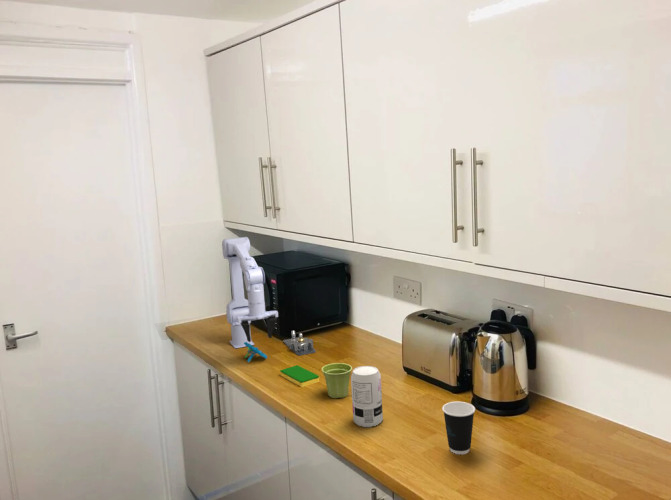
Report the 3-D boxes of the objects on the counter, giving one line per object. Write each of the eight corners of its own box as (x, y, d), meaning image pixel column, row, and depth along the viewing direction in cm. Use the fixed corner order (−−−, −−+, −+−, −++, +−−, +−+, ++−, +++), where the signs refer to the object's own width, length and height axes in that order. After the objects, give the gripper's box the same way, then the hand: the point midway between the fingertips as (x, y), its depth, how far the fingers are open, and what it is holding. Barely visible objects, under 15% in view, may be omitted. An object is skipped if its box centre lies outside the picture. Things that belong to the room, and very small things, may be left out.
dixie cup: (479, 445, 148) (479, 404, 146) (470, 460, 142) (470, 417, 140) (449, 439, 152) (447, 399, 150) (439, 454, 145) (437, 412, 143)
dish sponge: (297, 371, 207) (297, 364, 206) (320, 382, 195) (319, 375, 195) (280, 376, 202) (279, 369, 202) (301, 388, 191) (301, 381, 191)
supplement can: (348, 419, 167) (345, 368, 164) (374, 412, 170) (372, 363, 167) (361, 431, 159) (358, 378, 157) (388, 423, 163) (385, 372, 160)
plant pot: (334, 386, 190) (333, 360, 189) (359, 392, 185) (357, 365, 183) (317, 397, 183) (315, 370, 181) (342, 403, 177) (340, 376, 176)
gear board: (280, 343, 237) (279, 327, 235) (302, 339, 240) (301, 323, 239) (295, 356, 220) (294, 339, 219) (318, 351, 224) (317, 335, 223)
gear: (272, 357, 216) (251, 342, 212) (263, 371, 214) (241, 356, 211) (261, 352, 226) (241, 338, 222) (252, 366, 224) (232, 351, 221)
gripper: (238, 307, 202) (242, 345, 204) (279, 301, 207) (282, 338, 210) (234, 303, 208) (237, 340, 211) (273, 297, 214) (276, 333, 216)
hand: (259, 339), depth 210 cm, fingers open, 7 cm apart
